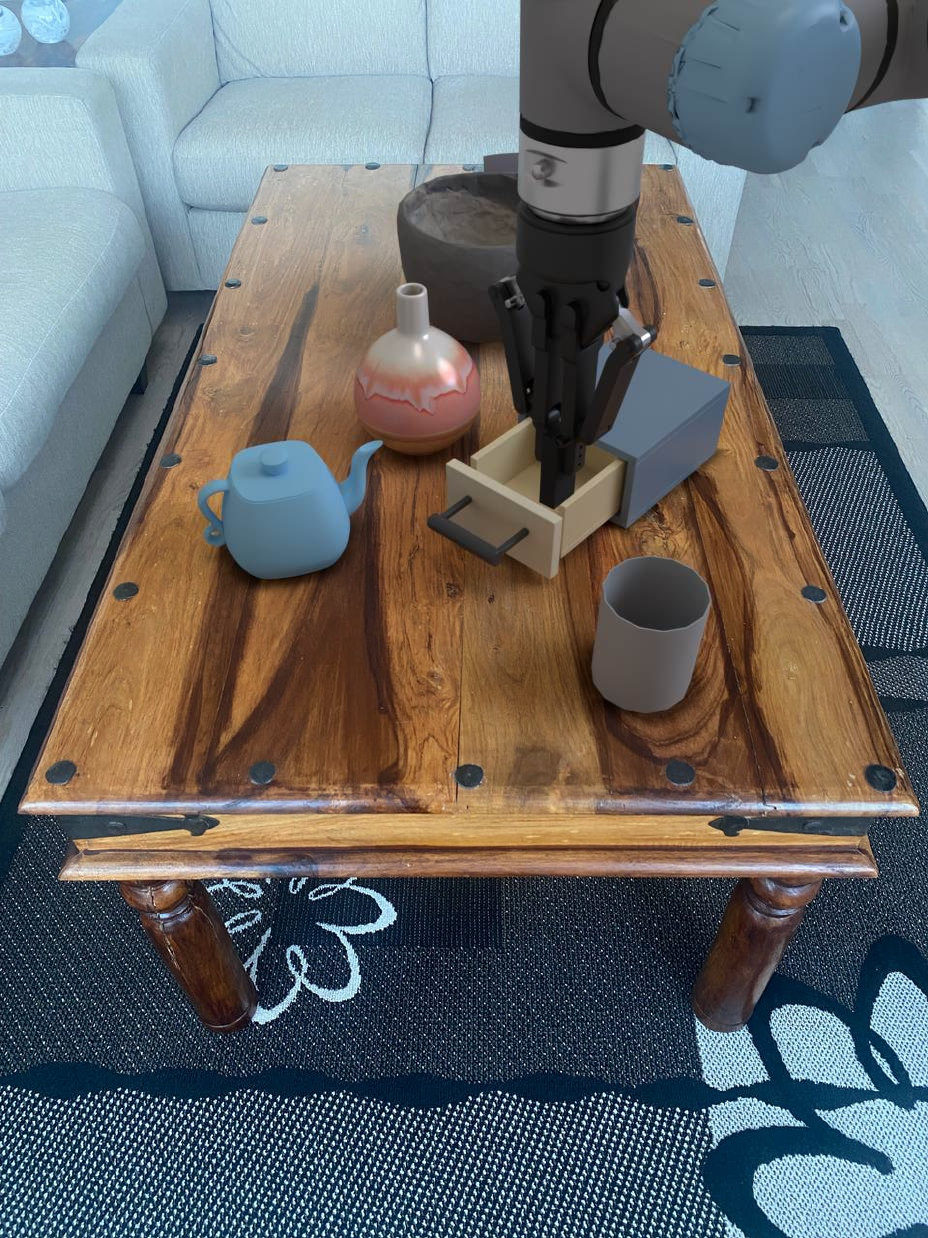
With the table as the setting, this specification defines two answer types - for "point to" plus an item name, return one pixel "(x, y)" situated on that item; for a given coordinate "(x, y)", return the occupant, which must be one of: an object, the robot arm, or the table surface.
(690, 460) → the cabinet
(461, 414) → the vase
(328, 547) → the teapot
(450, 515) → the open pull-out drawer
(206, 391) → the table surface
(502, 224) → the bowl
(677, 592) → the cup
